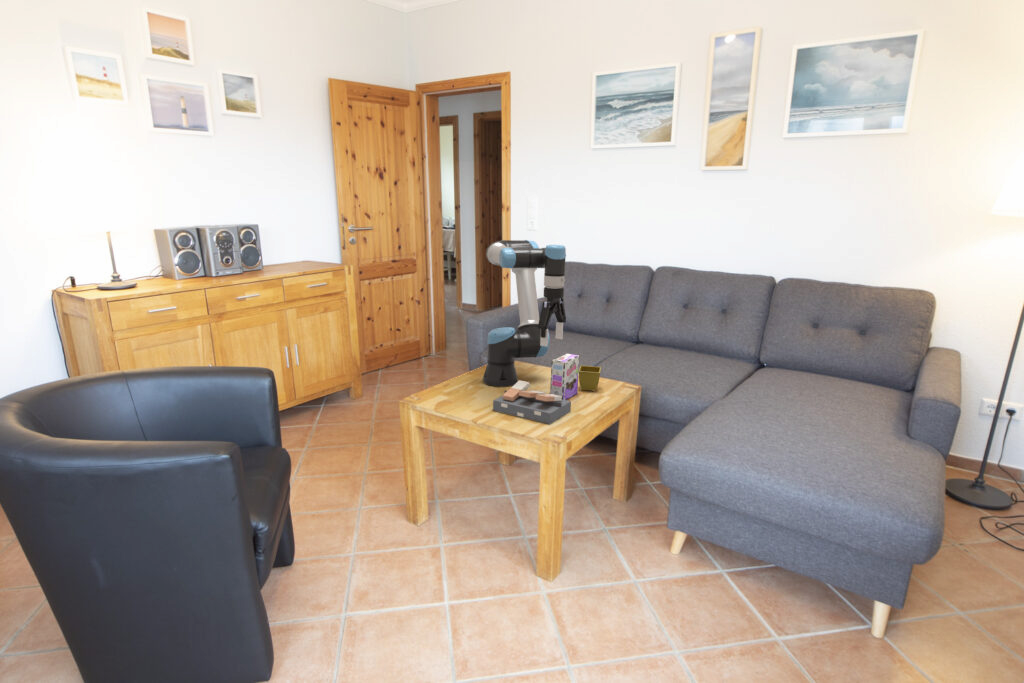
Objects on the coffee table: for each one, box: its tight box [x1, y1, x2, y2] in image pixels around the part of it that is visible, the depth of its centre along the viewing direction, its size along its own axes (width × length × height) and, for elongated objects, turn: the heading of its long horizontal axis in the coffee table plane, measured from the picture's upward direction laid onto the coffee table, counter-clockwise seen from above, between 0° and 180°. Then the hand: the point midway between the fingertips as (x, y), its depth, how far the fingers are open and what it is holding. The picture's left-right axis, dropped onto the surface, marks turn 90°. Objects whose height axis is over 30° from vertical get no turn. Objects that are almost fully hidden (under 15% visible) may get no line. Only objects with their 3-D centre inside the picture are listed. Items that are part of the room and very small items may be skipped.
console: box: [492, 390, 572, 425], centre depth 206 cm, size 24×16×6 cm
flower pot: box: [578, 365, 602, 391], centre depth 233 cm, size 9×9×9 cm
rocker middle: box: [519, 390, 546, 398], centre depth 206 cm, size 4×12×2 cm, turn 147°
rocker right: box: [536, 393, 562, 401], centre depth 202 cm, size 4×12×2 cm, turn 147°
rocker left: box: [502, 379, 530, 401], centre depth 209 cm, size 4×12×2 cm, turn 147°
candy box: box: [549, 353, 580, 401], centre depth 222 cm, size 14×6×16 cm, turn 148°
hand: (551, 342), depth 213 cm, fingers open, 13 cm apart
